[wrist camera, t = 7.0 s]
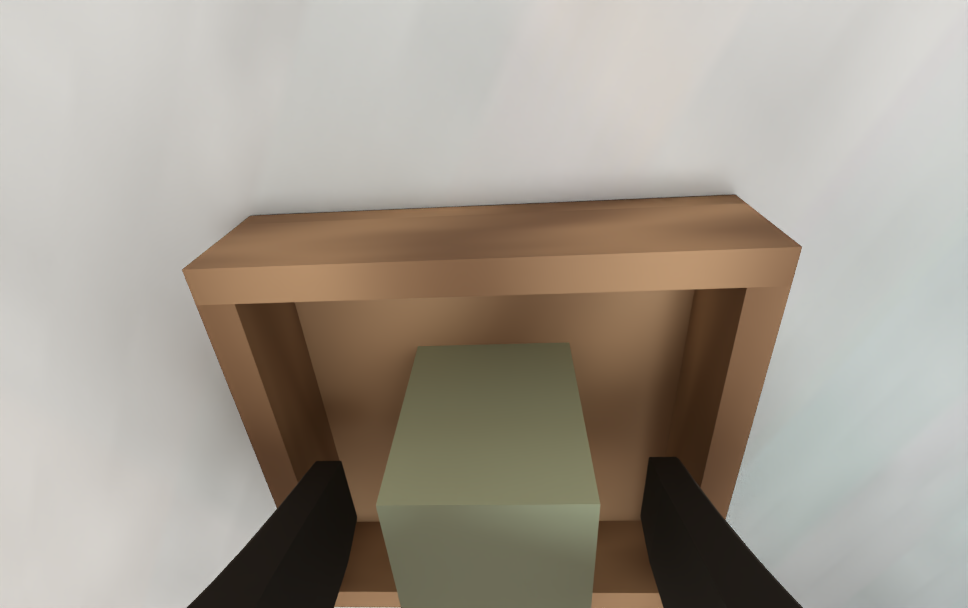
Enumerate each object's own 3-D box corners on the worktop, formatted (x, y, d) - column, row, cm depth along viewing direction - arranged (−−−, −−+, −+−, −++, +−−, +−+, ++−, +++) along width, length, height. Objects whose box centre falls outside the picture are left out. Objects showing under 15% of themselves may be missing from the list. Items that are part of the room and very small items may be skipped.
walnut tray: (735, 194, 12) (801, 246, 9) (671, 520, 17) (700, 609, 15) (250, 215, 12) (181, 269, 10) (343, 521, 18) (316, 606, 15)
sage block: (568, 342, 13) (600, 504, 9) (565, 452, 15) (589, 628, 11) (417, 346, 13) (375, 505, 9) (433, 453, 15) (405, 626, 11)
